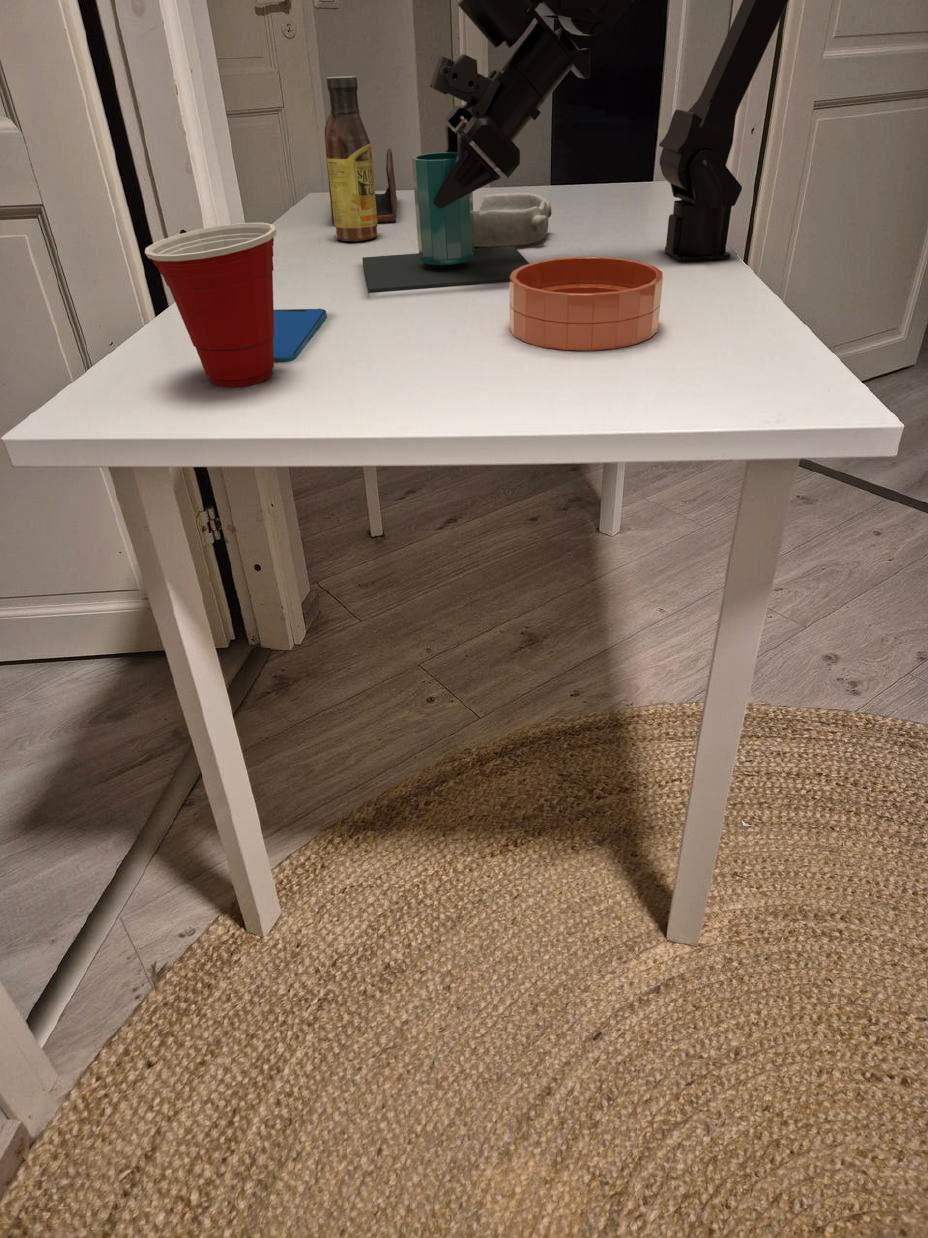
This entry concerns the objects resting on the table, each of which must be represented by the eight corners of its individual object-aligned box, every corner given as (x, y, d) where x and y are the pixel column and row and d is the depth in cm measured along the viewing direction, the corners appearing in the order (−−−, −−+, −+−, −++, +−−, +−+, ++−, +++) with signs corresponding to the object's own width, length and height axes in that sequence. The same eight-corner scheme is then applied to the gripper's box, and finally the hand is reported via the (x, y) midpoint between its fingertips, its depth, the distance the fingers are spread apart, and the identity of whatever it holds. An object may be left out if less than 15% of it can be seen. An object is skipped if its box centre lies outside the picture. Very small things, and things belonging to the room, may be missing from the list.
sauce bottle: (371, 243, 118) (355, 76, 106) (330, 243, 119) (309, 78, 107) (384, 233, 123) (370, 73, 111) (344, 233, 124) (326, 75, 112)
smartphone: (216, 359, 78) (262, 309, 90) (219, 369, 78) (263, 318, 90) (293, 358, 77) (328, 308, 89) (294, 368, 78) (329, 317, 90)
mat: (514, 254, 109) (514, 245, 108) (540, 284, 96) (540, 275, 96) (363, 265, 107) (362, 257, 107) (369, 297, 94) (368, 288, 94)
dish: (435, 248, 113) (433, 208, 111) (472, 227, 124) (471, 190, 121) (535, 253, 109) (536, 212, 106) (565, 231, 119) (566, 193, 116)
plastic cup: (189, 360, 79) (157, 223, 72) (303, 352, 79) (282, 216, 72) (166, 402, 70) (126, 251, 63) (293, 393, 70) (268, 242, 63)
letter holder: (332, 225, 129) (320, 121, 121) (340, 203, 145) (330, 109, 137) (396, 222, 129) (388, 117, 121) (397, 200, 145) (390, 106, 137)
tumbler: (485, 256, 101) (482, 153, 94) (448, 267, 97) (442, 161, 90) (446, 249, 104) (440, 150, 98) (408, 260, 101) (400, 158, 94)
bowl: (630, 307, 87) (635, 252, 84) (678, 349, 76) (685, 287, 73) (498, 318, 86) (498, 262, 83) (526, 363, 75) (527, 300, 71)
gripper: (459, 22, 95) (374, 138, 100) (486, 21, 80) (384, 158, 85) (526, 98, 100) (442, 205, 106) (564, 111, 85) (463, 235, 91)
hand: (432, 200), depth 97 cm, fingers closed on tumbler, 7 cm apart
